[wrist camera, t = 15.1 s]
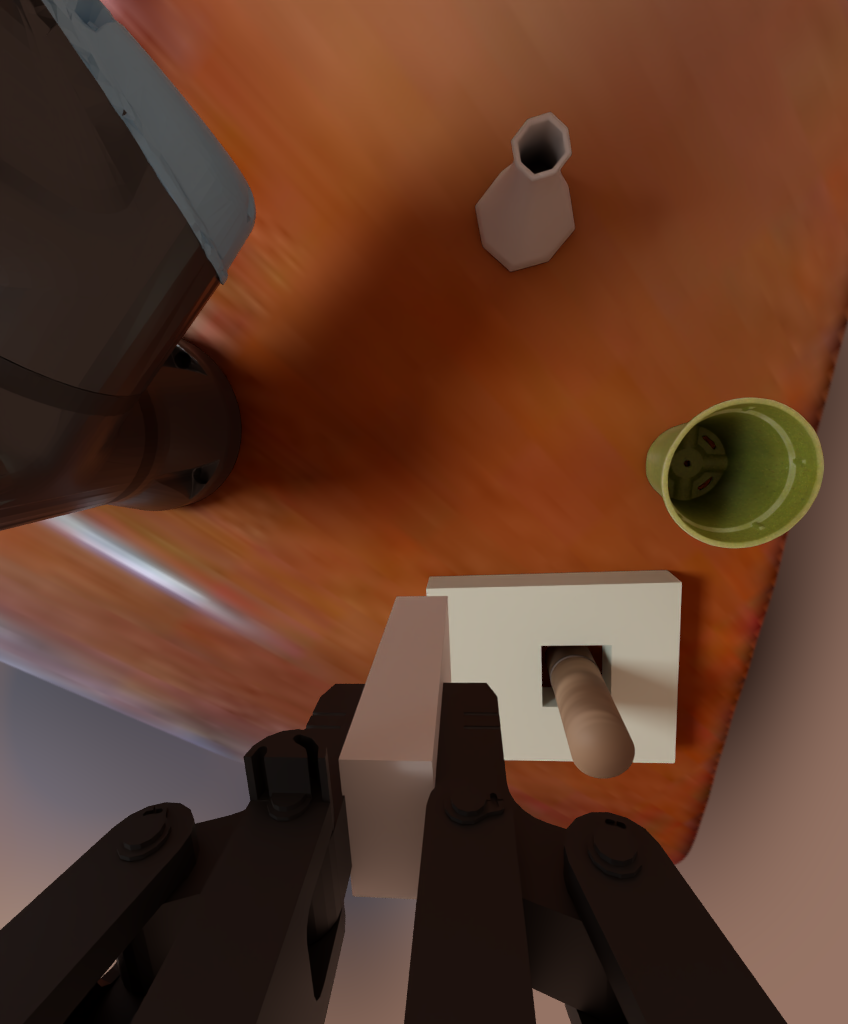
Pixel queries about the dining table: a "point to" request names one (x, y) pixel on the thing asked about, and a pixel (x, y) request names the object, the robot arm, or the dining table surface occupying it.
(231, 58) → the dining table surface
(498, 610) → the board
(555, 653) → the peg
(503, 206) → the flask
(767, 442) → the plant pot
